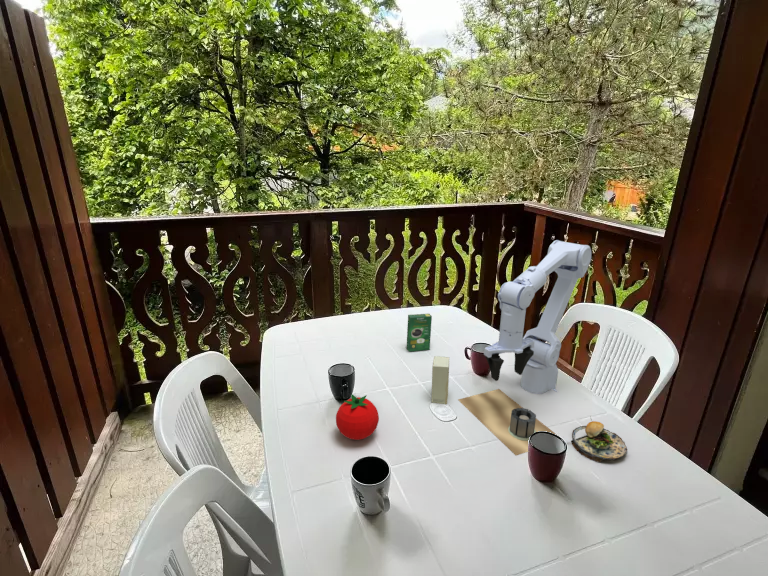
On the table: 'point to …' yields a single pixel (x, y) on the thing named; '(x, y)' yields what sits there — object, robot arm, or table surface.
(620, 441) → the burger
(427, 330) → the coffee box
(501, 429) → the board
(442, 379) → the skincare box
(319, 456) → the table surface
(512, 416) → the ring
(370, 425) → the tomato
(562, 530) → the table surface
